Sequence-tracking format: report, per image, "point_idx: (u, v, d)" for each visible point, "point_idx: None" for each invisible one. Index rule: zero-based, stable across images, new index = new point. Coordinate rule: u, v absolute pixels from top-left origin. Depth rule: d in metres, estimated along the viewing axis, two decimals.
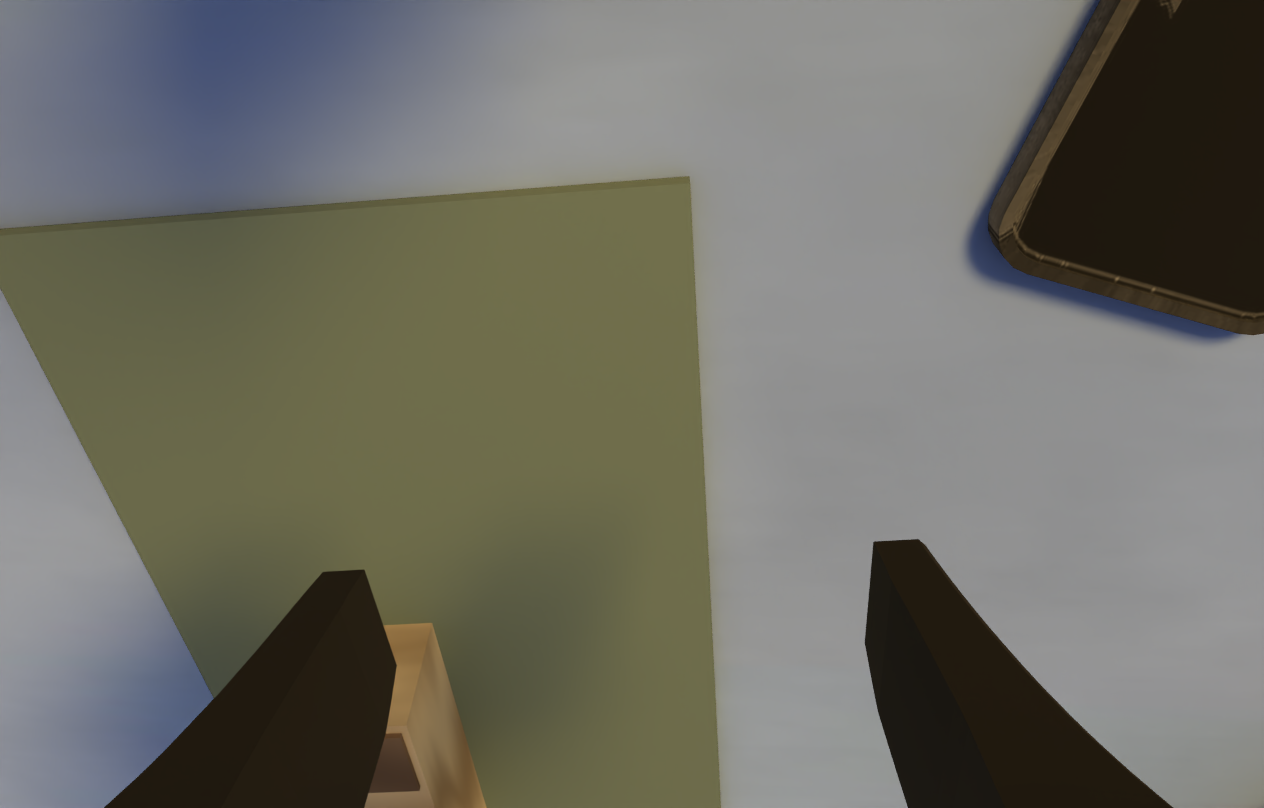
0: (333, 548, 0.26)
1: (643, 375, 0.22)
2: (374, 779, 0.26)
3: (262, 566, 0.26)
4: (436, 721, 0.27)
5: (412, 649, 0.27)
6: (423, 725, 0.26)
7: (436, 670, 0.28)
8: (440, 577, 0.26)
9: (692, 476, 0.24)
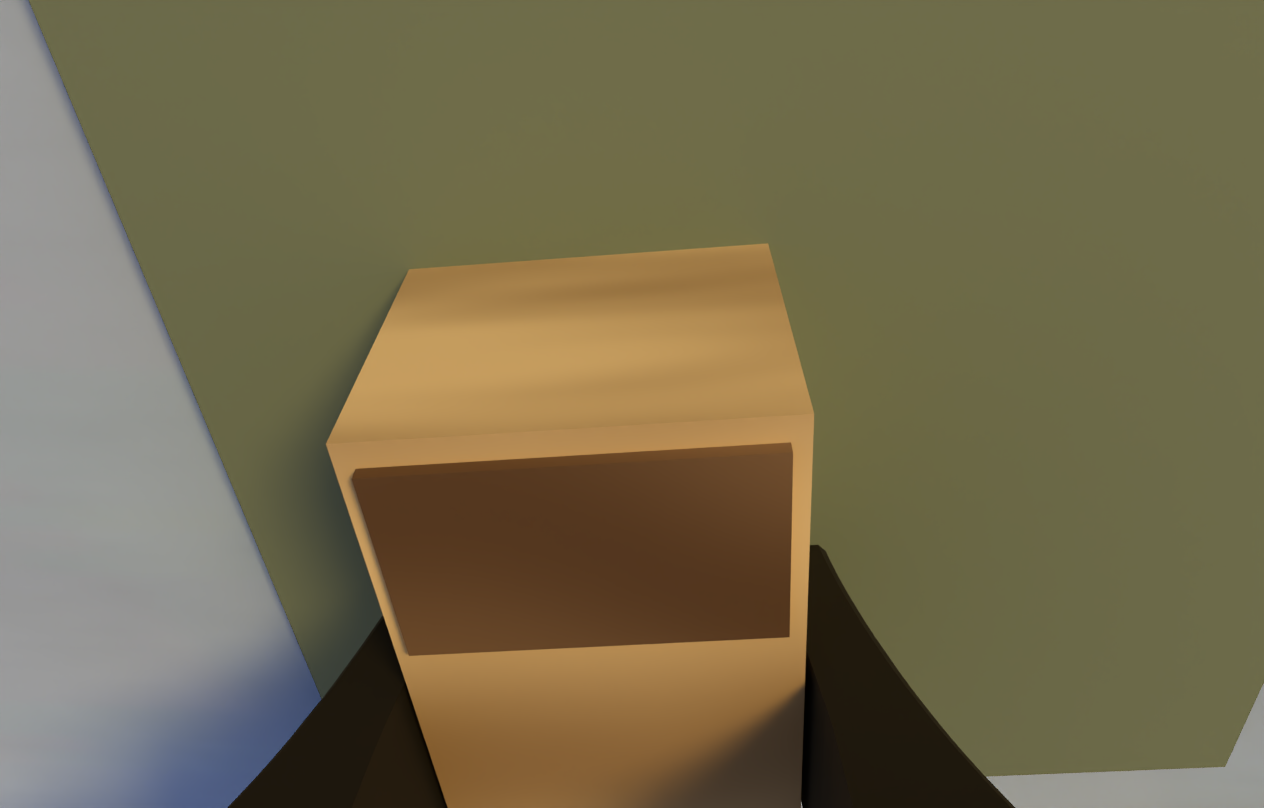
0: None
1: None
2: (676, 600, 0.09)
3: (359, 46, 0.10)
4: None
5: (743, 283, 0.10)
6: None
7: None
8: (826, 83, 0.10)
9: None
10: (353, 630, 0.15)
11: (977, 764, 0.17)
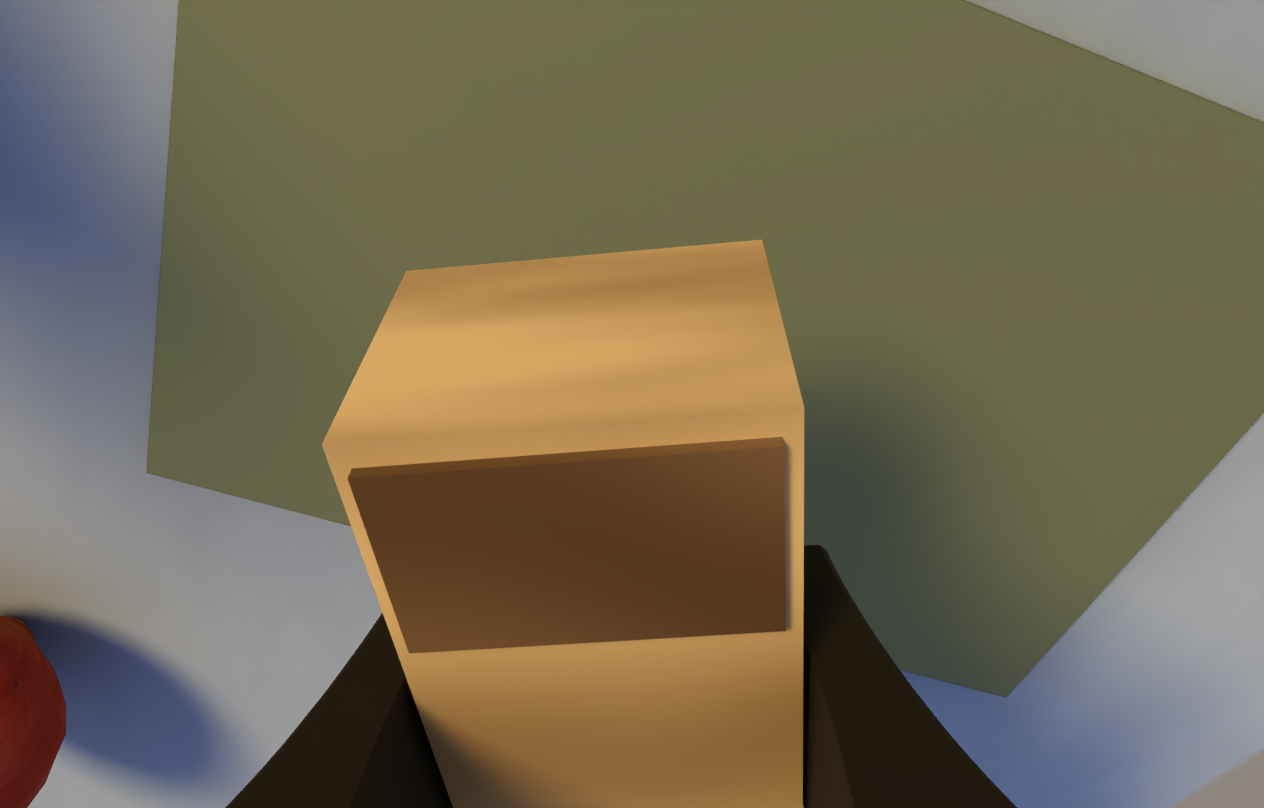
0: None
1: None
2: (672, 595, 0.09)
3: None
4: None
5: (736, 279, 0.10)
6: None
7: None
8: None
9: None
10: (876, 636, 0.25)
11: None
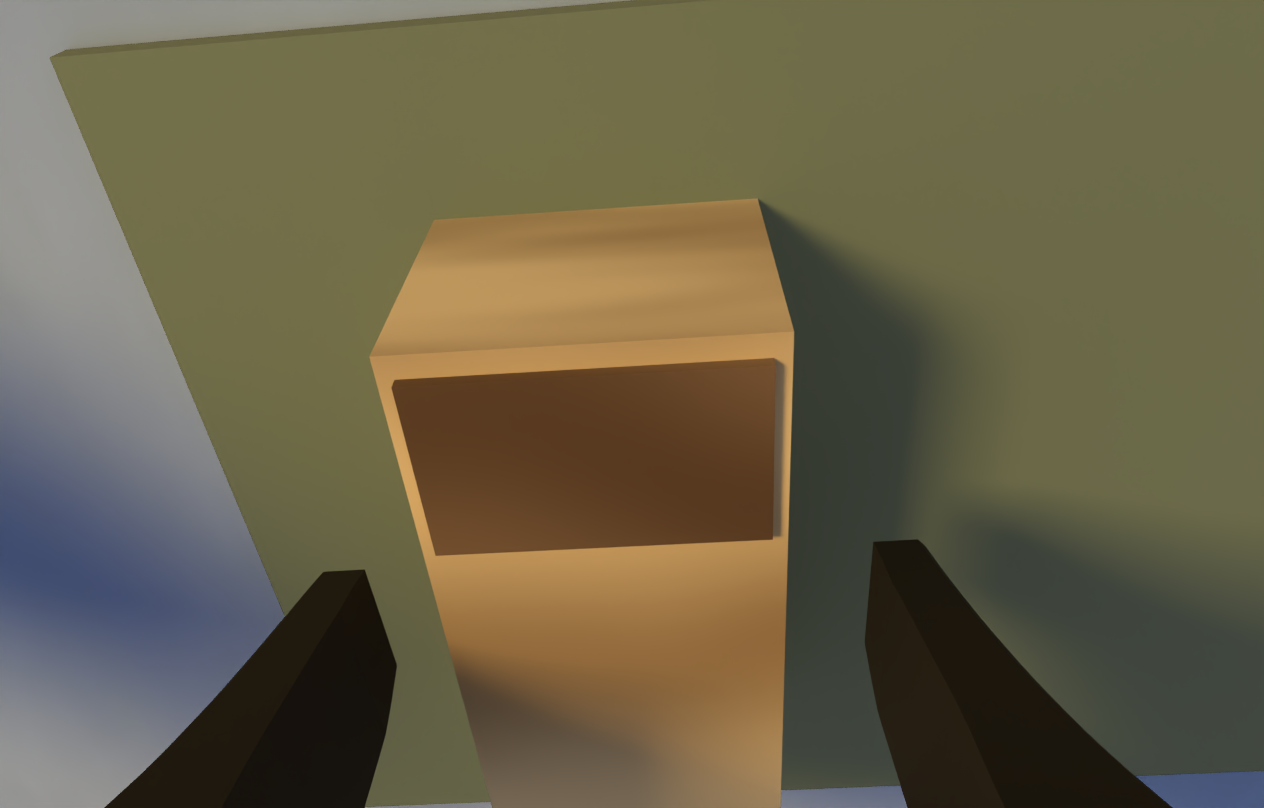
0: (821, 608, 0.17)
1: (451, 135, 0.12)
2: (673, 504, 0.10)
3: (845, 685, 0.18)
4: None
5: (734, 230, 0.12)
6: None
7: None
8: (908, 485, 0.15)
9: (698, 30, 0.11)
10: None
11: None
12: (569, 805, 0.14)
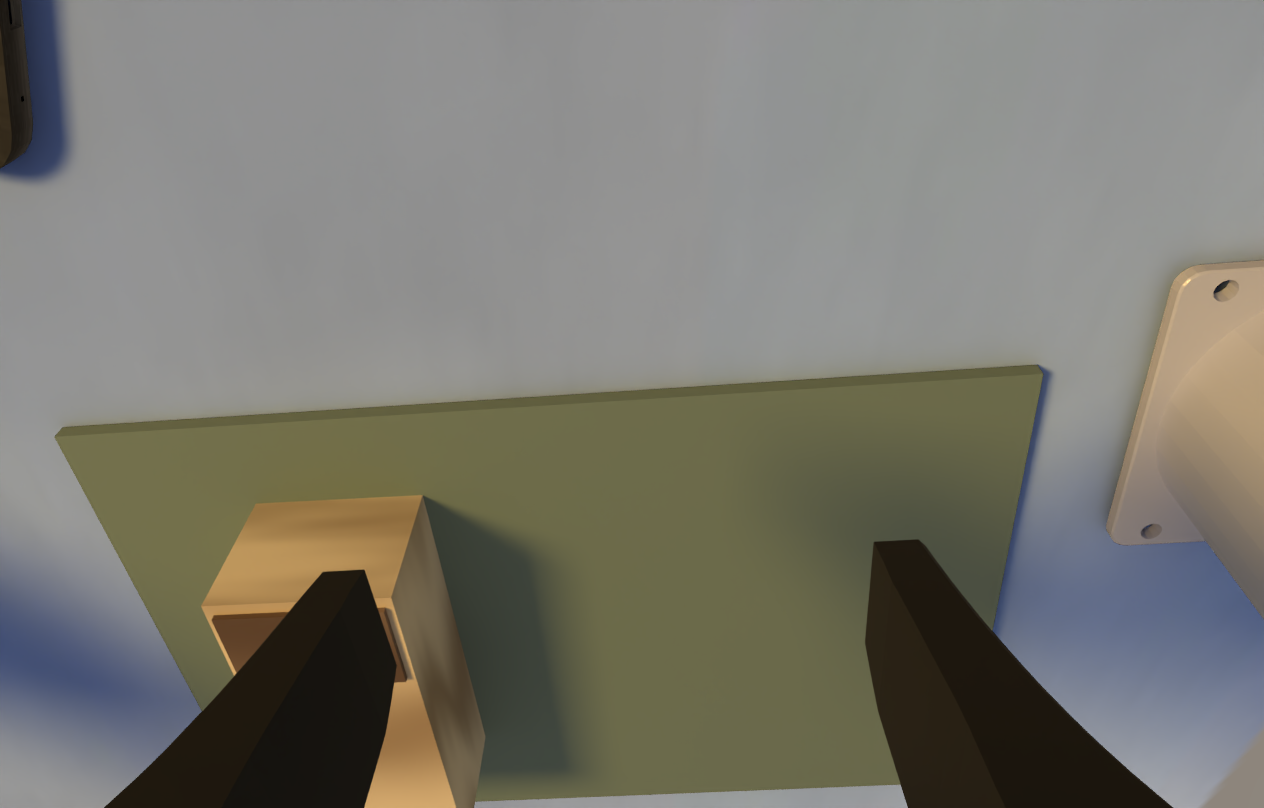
0: (512, 692, 0.28)
1: (259, 468, 0.23)
2: None
3: (540, 736, 0.29)
4: (426, 608, 0.24)
5: (399, 521, 0.23)
6: (411, 606, 0.22)
7: (427, 550, 0.24)
8: (543, 628, 0.26)
9: (376, 427, 0.23)
10: (820, 769, 0.30)
11: (999, 520, 0.24)
12: None
